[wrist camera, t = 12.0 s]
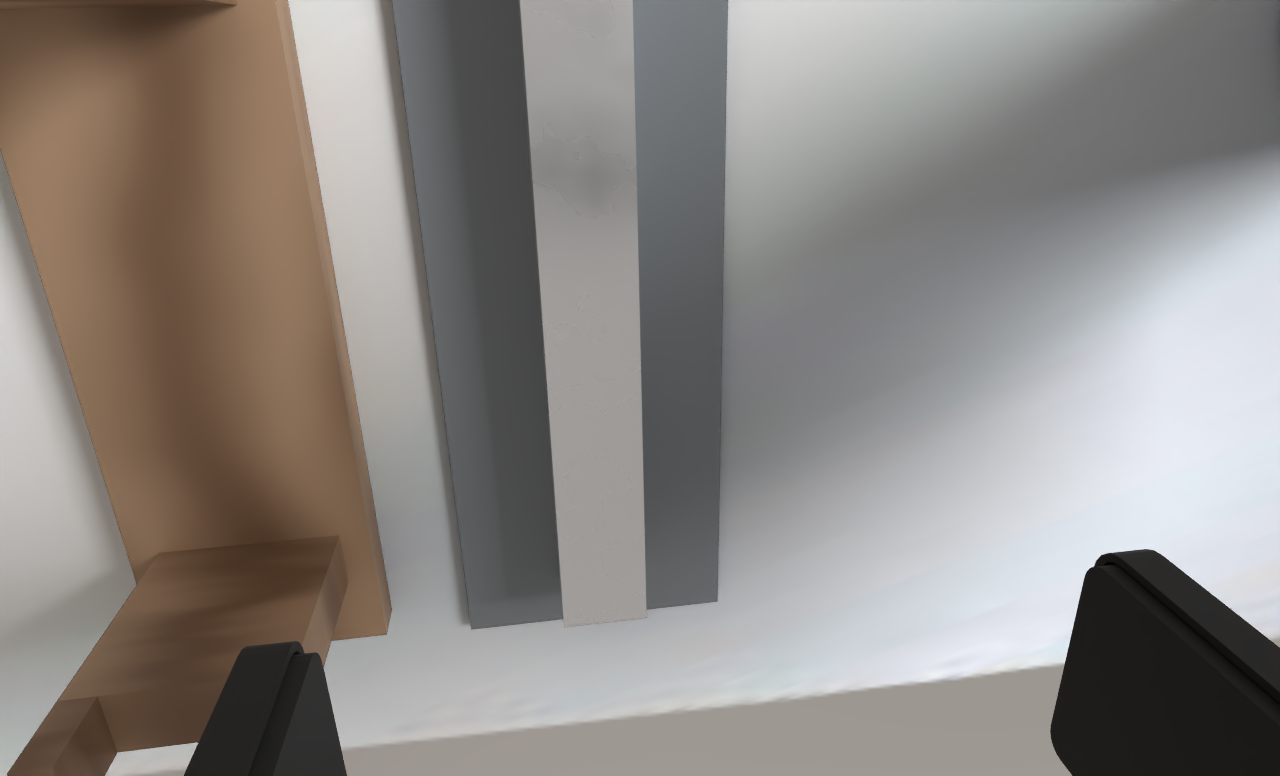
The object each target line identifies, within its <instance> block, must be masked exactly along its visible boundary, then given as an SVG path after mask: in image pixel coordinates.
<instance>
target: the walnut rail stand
mask: <svg viewBox="0 0 1280 776" xmlns="http://www.w3.org/2000/svg"><path fill="white" fill-rule="evenodd" d="M0 149H1V153H2V156H3V159H4V162H5V165H6V169H7V172H8V175H9V178H10V181H11V185H12V188H13V191H14V194H15V197H16V200H17V204H18V207H19V210H20V213H21V216H22V220H23V223H24V226H25V229H26V232H27V236H28V239H29V242H30V245H31V248H32V252H33V255H34V258H35V261H36V264H37V267H38V271H39V274H40V277H41V280H42V283H43V287H44V290H45V293H46V296H47V299H48V303H49V306H50V309H51V312H52V315H53V318H54V322H55V325H56V328H57V331H58V334H59V338H60V341H61V344H62V347H63V350H64V354H65V357H66V360H67V363H68V366H69V370H70V373H71V376H72V379H73V382H74V385H75V389H76V392H77V395H78V398H79V401H80V405H81V408H82V411H83V414H84V417H85V421H86V424H87V427H88V430H89V433H90V437H91V440H92V443H93V446H94V449H95V452H96V456H97V459H98V462H99V465H100V468H101V472H102V475H103V478H104V481H105V484H106V488H107V491H108V494H109V497H110V500H111V503H112V507H113V510H114V513H115V516H116V519H117V523H118V526H119V529H120V532H121V535H122V539H123V542H124V545H125V548H126V551H127V555H128V558H129V561H130V564H131V567H132V570H133V574H134V577H135V580H136V583H137V586H136V587H135V588H134V590H133V591H132V593H131V594H130V596H129V597H128V599H127V600H126V602H125V603H124V604H123V606H122V607H121V609H120V610H119V612H118V613H117V615H116V616H115V618H114V619H113V620H112V622H111V623H110V625H109V626H108V628H107V629H106V631H105V632H104V634H103V635H102V636H101V638H100V639H99V641H98V642H97V644H96V645H95V647H94V648H93V650H92V651H91V652H90V654H89V655H88V657H87V658H86V660H85V661H84V663H83V664H82V666H81V667H80V668H79V670H78V671H77V673H76V674H75V676H74V677H73V679H72V680H71V682H70V683H69V684H68V686H67V687H66V689H65V690H64V692H63V693H62V695H61V696H60V698H59V699H58V700H57V702H56V703H55V705H54V706H53V708H52V709H51V711H50V712H49V714H48V715H47V716H46V718H45V719H44V721H43V722H42V724H41V725H40V727H39V728H38V730H37V731H36V732H35V734H34V735H33V737H32V738H31V740H30V741H29V743H28V744H27V746H26V747H25V749H24V750H23V751H22V753H21V754H20V756H19V757H18V759H17V760H16V762H15V763H14V765H13V766H12V767H11V769H10V770H9V772H8V773H7V775H8V776H105V774H106V772H107V771H108V769H109V767H110V765H111V763H112V761H113V760H114V758H115V756H116V754H117V752H124V751H132V750H140V749H148V748H156V747H164V746H172V745H180V744H188V743H195V742H199V741H200V739H201V736H202V734H203V732H204V730H205V728H206V725H207V723H208V721H209V719H210V716H211V714H212V712H213V710H214V708H215V705H216V703H217V701H218V699H219V696H220V694H221V692H222V690H223V688H224V685H225V683H226V681H227V679H228V676H229V674H230V672H231V670H232V668H233V665H234V663H235V661H236V659H237V657H238V655H239V653H240V651H241V650H242V649H243V648H245V647H246V646H255V645H264V644H274V643H283V642H292V641H297V642H300V644H301V645H302V647H303V650H304V653H314V652H316V653H318V654H319V655H320V657H321V660H322V664H323V667H324V664H325V660H326V657H327V654H328V650H329V647H330V644H331V641H334V640H343V639H351V638H360V637H369V636H378V635H387V631H388V626H389V621H390V616H391V611H392V608H391V602H390V596H389V590H388V584H387V578H386V573H385V567H384V561H383V555H382V549H381V543H380V537H379V532H378V526H377V520H376V514H375V508H374V502H373V496H372V491H371V485H370V479H369V473H368V467H367V461H366V455H365V450H364V444H363V438H362V432H361V426H360V420H359V414H358V409H357V403H356V397H355V391H354V385H353V379H352V373H351V368H350V362H349V356H348V350H347V344H346V338H345V332H344V327H343V321H342V315H341V309H340V303H339V297H338V291H337V286H336V280H335V274H334V268H333V262H332V256H331V250H330V245H329V239H328V233H327V227H326V221H325V215H324V209H323V204H322V198H321V192H320V186H319V180H318V174H317V168H316V163H315V157H314V151H313V145H312V139H311V133H310V127H309V122H308V116H307V110H306V104H305V98H304V92H303V86H302V81H301V75H300V69H299V63H298V57H297V51H296V45H295V40H294V34H293V28H292V22H291V16H290V10H289V4H288V0H0Z"/></svg>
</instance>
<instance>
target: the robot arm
mask: <svg viewBox="0 0 1280 776" xmlns="http://www.w3.org/2000/svg"><path fill="white" fill-rule="evenodd" d="M1050 732H1051V740H1052V743H1053V746H1054V749H1055V751H1056V753H1057V755H1058V756H1059V758H1060V760H1061V761H1062V763H1063V764H1064V765H1065V766H1066V768H1067V769H1068V770H1069V772H1070V773H1071V774H1072V776H1280V648H1279V647H1278V646H1277V645H1275V644H1274V643H1273V642H1272V641H1270V640H1269V639H1268V638H1267V637H1265V636H1264V635H1263V634H1261V633H1260V632H1259V631H1258V630H1256V629H1255V628H1254V627H1253V626H1251V625H1250V624H1249V623H1248V622H1246V621H1245V620H1244V619H1242V618H1241V617H1240V616H1239V615H1237V614H1236V613H1235V612H1234V611H1232V610H1231V609H1230V608H1228V607H1227V606H1226V605H1225V604H1223V603H1222V602H1221V601H1220V600H1218V599H1217V598H1216V597H1214V596H1213V595H1212V594H1211V593H1209V592H1208V591H1207V590H1206V589H1204V588H1203V587H1202V586H1201V585H1199V584H1198V583H1197V582H1195V581H1194V580H1193V579H1192V578H1190V577H1189V576H1188V575H1187V574H1185V573H1184V572H1183V571H1181V570H1180V569H1179V568H1178V567H1176V566H1175V565H1174V564H1173V563H1171V562H1170V561H1169V560H1167V559H1166V558H1165V557H1164V556H1162V555H1161V554H1159V553H1157V552H1156V551H1154V550H1148V549H1144V550H1134V551H1125V552H1116V553H1107V554H1104V555H1101V556H1100V557H1099V558H1098V560H1097V561H1096V563H1095V566H1094V567H1092V568H1090V569H1089V570H1088V571H1087V573H1086V575H1085V578H1084V582H1083V587H1082V591H1081V595H1080V600H1079V604H1078V609H1077V613H1076V617H1075V622H1074V626H1073V631H1072V635H1071V639H1070V644H1069V648H1068V653H1067V657H1066V661H1065V666H1064V670H1063V675H1062V679H1061V684H1060V688H1059V692H1058V697H1057V701H1056V705H1055V710H1054V714H1053V719H1052V724H1051V731H1050ZM184 776H347V774H346V770H345V765H344V760H343V756H342V751H341V746H340V742H339V737H338V733H337V728H336V724H335V719H334V714H333V710H332V705H331V701H330V696H329V692H328V687H327V682H326V678H325V673H324V669H323V664H322V660H321V657H320V655H319V654H318V653H316V652H314V653H304V650H303V647H302V645H301V644H300V642H297V641H292V642H283V643H274V644H264V645H255V646H246V647H245V648H243V649H242V650H241V651H240V653H239V655H238V657H237V659H236V661H235V663H234V665H233V668H232V670H231V672H230V674H229V676H228V679H227V681H226V683H225V685H224V688H223V690H222V692H221V694H220V696H219V699H218V701H217V703H216V705H215V708H214V710H213V712H212V714H211V716H210V719H209V721H208V723H207V725H206V728H205V730H204V732H203V734H202V736H201V739H200V741H199V743H198V745H197V747H196V750H195V752H194V754H193V756H192V759H191V761H190V763H189V765H188V767H187V770H186V772H185V774H184Z"/></svg>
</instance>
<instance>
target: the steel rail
mask: <svg viewBox="0 0 1280 776" xmlns="http://www.w3.org/2000/svg"><path fill="white" fill-rule="evenodd" d="M518 7H519V21H520V35H521V49H522V63H523V77H524V91H525V105H526V119H527V133H528V147H529V161H530V175H531V189H532V203H533V217H534V231H535V245H536V259H537V273H538V287H539V301H540V315H541V329H542V343H543V357H544V371H545V385H546V399H547V413H548V427H549V441H550V455H551V469H552V483H553V497H554V511H555V525H556V539H557V553H558V567H559V580H560V590H561V600H562V610H563V620H564V627H571V626H580V625H588V624H597V623H606V622H614V621H623V620H632V619H641V618H647V615H646V570H645V526H644V481H643V437H642V392H641V348H640V304H639V259H638V215H637V170H636V126H635V81H634V37H633V0H518Z"/></svg>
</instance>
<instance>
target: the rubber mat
mask: <svg viewBox="0 0 1280 776" xmlns="http://www.w3.org/2000/svg"><path fill="white" fill-rule="evenodd" d="M392 4H393V12H394V20H395V28H396V36H397V44H398V52H399V60H400V68H401V76H402V84H403V92H404V100H405V107H406V115H407V123H408V131H409V139H410V147H411V155H412V163H413V171H414V179H415V187H416V195H417V203H418V210H419V218H420V226H421V234H422V242H423V250H424V258H425V266H426V274H427V282H428V290H429V298H430V306H431V313H432V321H433V329H434V337H435V345H436V353H437V361H438V369H439V377H440V385H441V393H442V401H443V409H444V416H445V424H446V432H447V440H448V448H449V456H450V464H451V472H452V480H453V488H454V496H455V504H456V512H457V519H458V527H459V535H460V543H461V551H462V559H463V567H464V575H465V583H466V591H467V599H468V607H469V615H470V622H471V629H480V628H489V627H498V626H507V625H515V624H524V623H533V622H542V621H550V620H559V619H563V610H562V600H561V590H560V580H559V567H558V553H557V539H556V525H555V511H554V497H553V483H552V469H551V455H550V441H549V427H548V413H547V399H546V385H545V371H544V357H543V343H542V329H541V315H540V301H539V287H538V273H537V259H536V245H535V231H534V217H533V203H532V189H531V175H530V161H529V147H528V133H527V119H526V105H525V91H524V77H523V63H522V49H521V35H520V21H519V7H518V0H392ZM727 22H728V0H633V37H634V81H635V126H636V170H637V215H638V259H639V304H640V348H641V392H642V437H643V481H644V526H645V570H646V610H647V609H656V608H665V607H673V606H682V605H691V604H700V603H709V602H717V599H718V541H719V484H720V426H721V368H722V311H723V253H724V195H725V138H726V80H727Z"/></svg>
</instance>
